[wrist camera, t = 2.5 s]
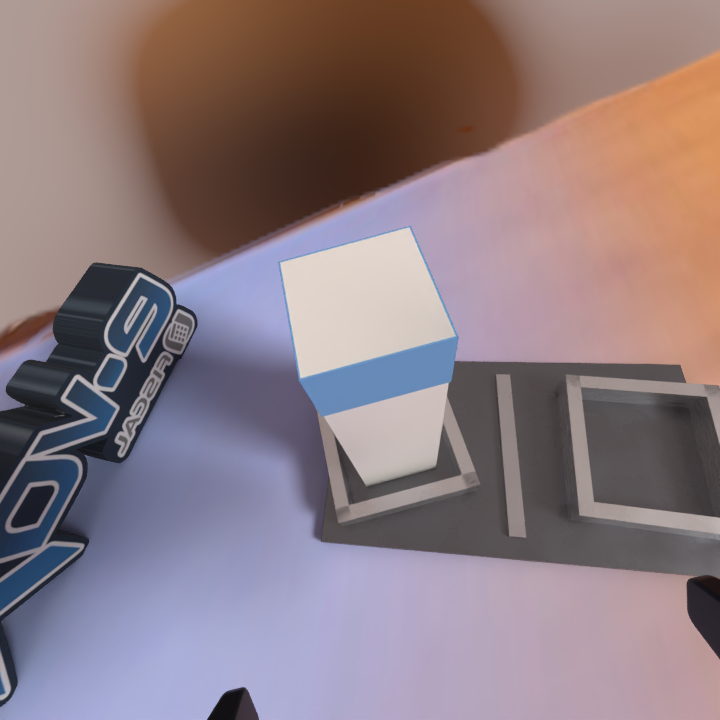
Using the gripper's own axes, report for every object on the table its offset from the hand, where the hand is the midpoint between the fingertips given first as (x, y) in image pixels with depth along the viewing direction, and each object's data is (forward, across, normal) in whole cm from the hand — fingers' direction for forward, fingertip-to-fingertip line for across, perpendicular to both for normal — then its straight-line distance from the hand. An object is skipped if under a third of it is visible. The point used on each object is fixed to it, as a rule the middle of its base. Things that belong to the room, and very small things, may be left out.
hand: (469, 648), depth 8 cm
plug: (+15, 0, +3) cm, 15 cm away
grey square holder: (+12, -12, +6) cm, 19 cm away
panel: (+14, -6, +4) cm, 16 cm away
